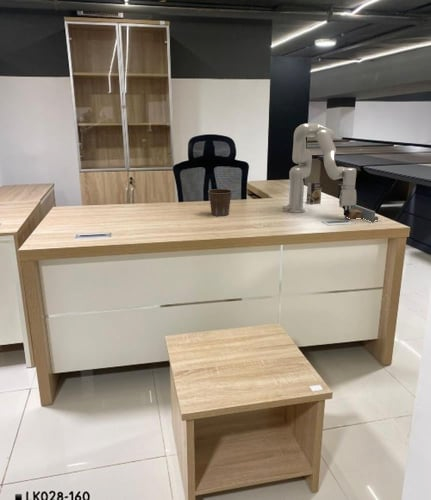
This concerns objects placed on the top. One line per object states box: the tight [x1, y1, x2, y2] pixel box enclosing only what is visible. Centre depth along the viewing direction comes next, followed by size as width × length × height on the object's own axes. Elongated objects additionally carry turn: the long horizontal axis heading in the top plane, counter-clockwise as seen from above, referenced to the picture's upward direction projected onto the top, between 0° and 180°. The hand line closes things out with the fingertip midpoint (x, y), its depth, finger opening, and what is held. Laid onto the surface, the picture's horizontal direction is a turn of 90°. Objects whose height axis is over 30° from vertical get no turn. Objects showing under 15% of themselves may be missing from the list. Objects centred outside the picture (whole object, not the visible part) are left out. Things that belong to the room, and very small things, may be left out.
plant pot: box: [207, 188, 233, 217], centre depth 288 cm, size 16×16×16 cm
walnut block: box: [344, 210, 362, 220], centre depth 279 cm, size 8×7×5 cm
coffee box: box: [305, 181, 323, 205], centre depth 324 cm, size 9×6×16 cm
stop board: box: [350, 204, 379, 223], centre depth 279 cm, size 6×26×7 cm, turn 15°
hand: (346, 215), depth 277 cm, fingers closed
